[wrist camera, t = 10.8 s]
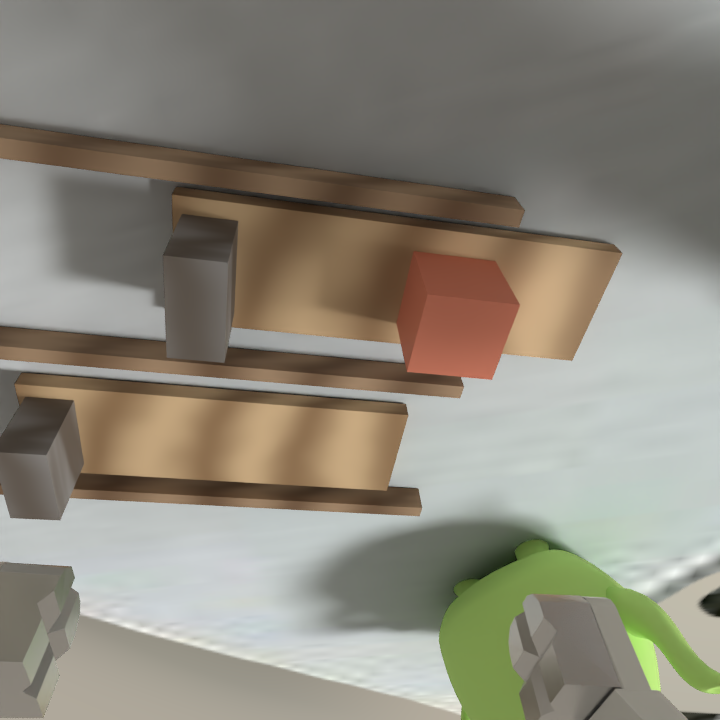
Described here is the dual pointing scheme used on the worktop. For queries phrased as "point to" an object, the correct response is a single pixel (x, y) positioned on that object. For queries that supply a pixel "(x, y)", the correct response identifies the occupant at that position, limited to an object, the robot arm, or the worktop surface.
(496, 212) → the lane rails
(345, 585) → the worktop surface
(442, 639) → the teapot
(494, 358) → the cube
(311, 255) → the strip
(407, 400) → the worktop surface
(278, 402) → the strip
